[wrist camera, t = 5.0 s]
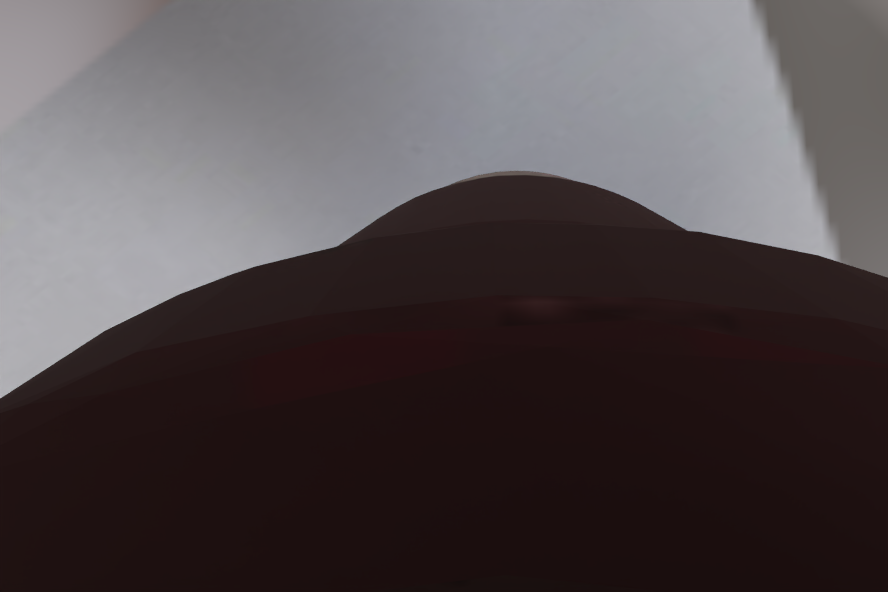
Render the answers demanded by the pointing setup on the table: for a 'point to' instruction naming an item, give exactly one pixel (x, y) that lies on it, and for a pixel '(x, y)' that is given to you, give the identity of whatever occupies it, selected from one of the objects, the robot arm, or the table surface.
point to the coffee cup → (470, 416)
